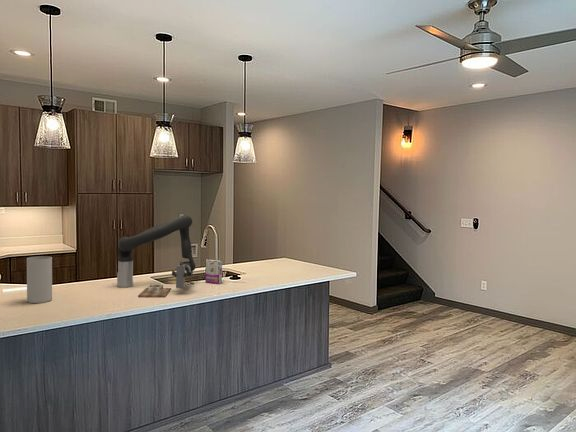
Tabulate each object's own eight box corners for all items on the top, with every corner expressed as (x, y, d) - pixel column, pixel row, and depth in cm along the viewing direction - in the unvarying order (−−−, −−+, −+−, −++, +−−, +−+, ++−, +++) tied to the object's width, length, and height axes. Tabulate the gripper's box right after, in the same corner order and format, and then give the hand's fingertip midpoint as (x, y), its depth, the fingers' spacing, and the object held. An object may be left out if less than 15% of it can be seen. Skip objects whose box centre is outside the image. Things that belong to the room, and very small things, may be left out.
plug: (175, 288, 267) (176, 261, 266) (177, 286, 272) (177, 260, 271) (183, 288, 268) (184, 261, 267) (184, 286, 272) (185, 260, 271)
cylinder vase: (49, 303, 240) (48, 259, 239) (24, 304, 237) (23, 259, 235) (54, 297, 252) (54, 256, 251) (30, 298, 249) (30, 256, 247)
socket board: (138, 297, 258) (138, 289, 258) (146, 289, 278) (146, 282, 278) (165, 297, 260) (165, 289, 259) (171, 289, 280) (171, 282, 279)
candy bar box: (222, 283, 304) (222, 260, 303) (218, 284, 300) (219, 261, 299) (208, 281, 308) (209, 259, 307) (205, 282, 303) (205, 260, 302)
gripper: (173, 264, 283) (168, 269, 266) (195, 265, 284) (191, 270, 267) (173, 275, 283) (168, 281, 266) (194, 276, 285) (191, 281, 268)
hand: (179, 275), depth 267 cm, fingers closed on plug, 4 cm apart
